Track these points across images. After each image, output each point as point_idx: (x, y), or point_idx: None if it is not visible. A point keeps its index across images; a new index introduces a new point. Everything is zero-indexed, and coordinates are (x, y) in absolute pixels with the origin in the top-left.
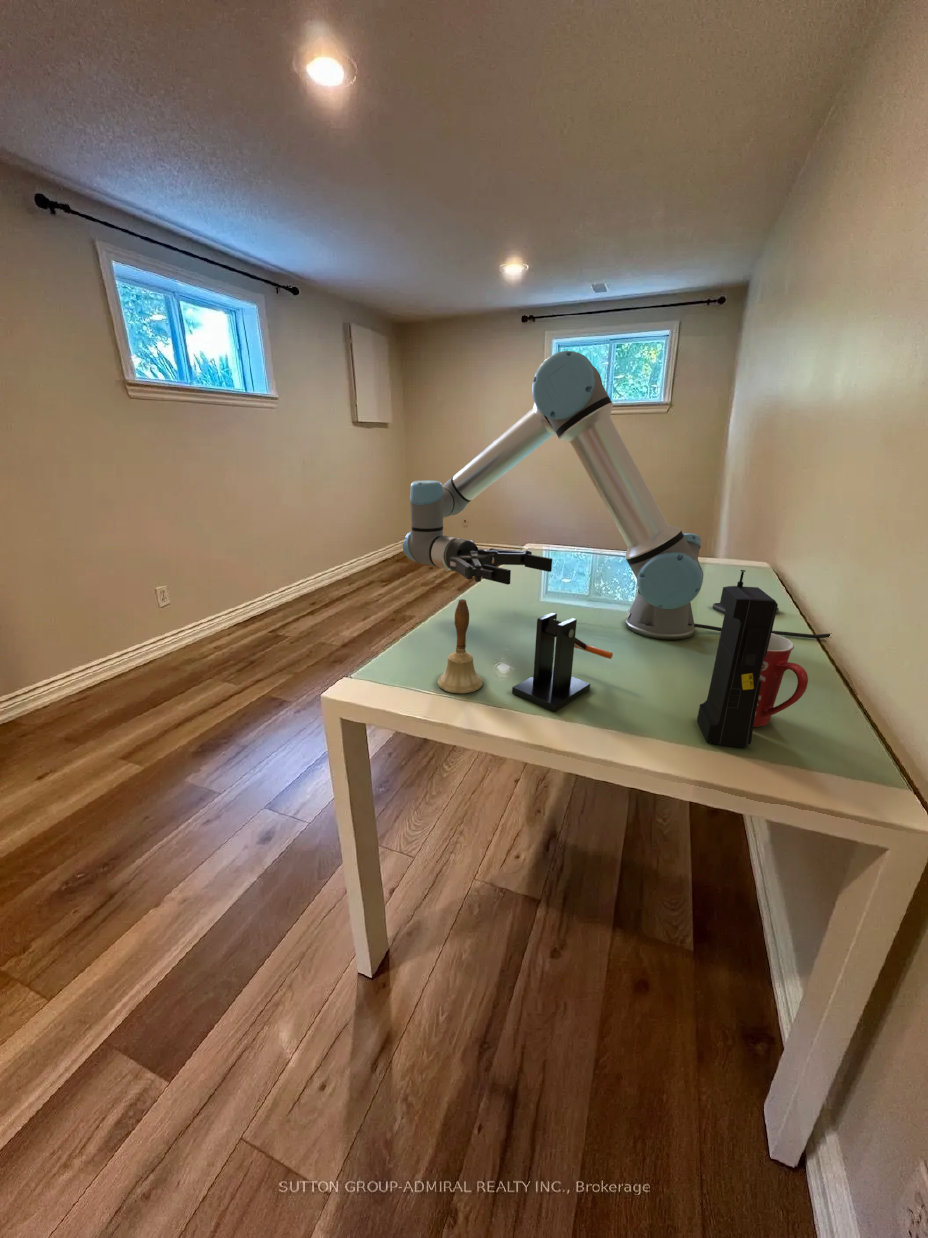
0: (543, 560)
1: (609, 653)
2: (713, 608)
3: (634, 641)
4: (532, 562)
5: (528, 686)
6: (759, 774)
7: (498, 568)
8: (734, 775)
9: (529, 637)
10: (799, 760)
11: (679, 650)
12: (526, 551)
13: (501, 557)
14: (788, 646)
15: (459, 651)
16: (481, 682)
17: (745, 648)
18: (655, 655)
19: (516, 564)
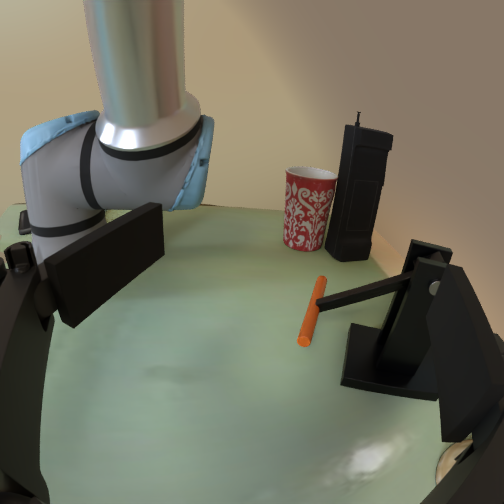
0: (140, 227)
1: (325, 277)
2: (23, 234)
3: (132, 296)
4: (101, 274)
5: (423, 378)
6: (378, 246)
7: (477, 299)
8: (391, 253)
9: (156, 460)
10: None
11: (156, 262)
12: (18, 256)
13: (11, 414)
14: (305, 170)
15: None
16: (455, 444)
17: (385, 170)
18: (182, 280)
19: (46, 359)
